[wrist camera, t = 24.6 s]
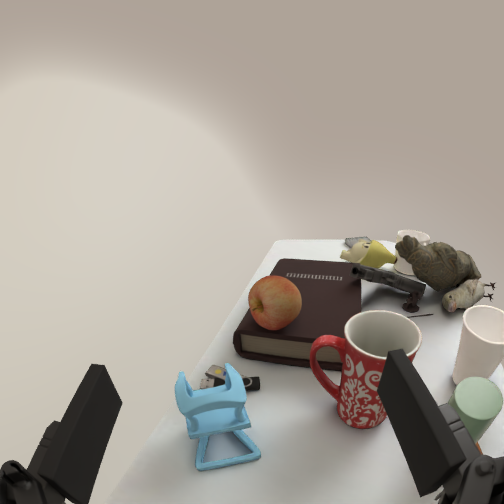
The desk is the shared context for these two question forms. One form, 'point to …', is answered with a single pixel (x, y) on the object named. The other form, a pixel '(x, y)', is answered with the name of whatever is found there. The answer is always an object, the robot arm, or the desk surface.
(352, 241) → the phone
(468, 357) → the cup
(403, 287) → the handgun
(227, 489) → the desk surface
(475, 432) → the canister
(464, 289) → the decorative bird
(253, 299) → the apple
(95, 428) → the robot arm
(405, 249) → the statue
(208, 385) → the usb flash drive
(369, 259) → the toy
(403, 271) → the mug
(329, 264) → the book
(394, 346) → the mug
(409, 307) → the figurine
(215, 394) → the chair
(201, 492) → the desk surface
